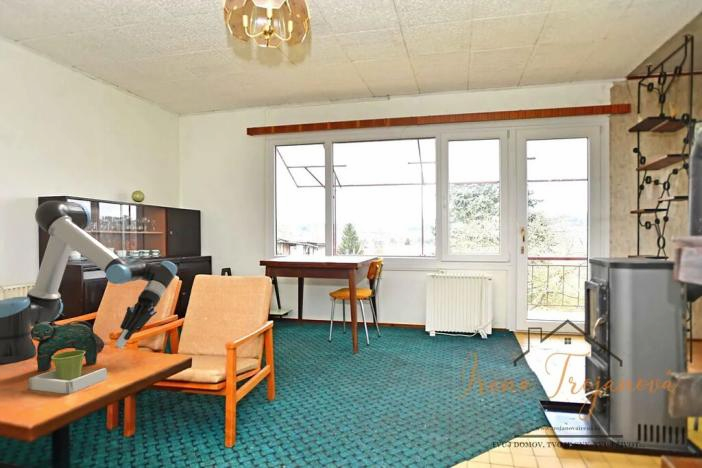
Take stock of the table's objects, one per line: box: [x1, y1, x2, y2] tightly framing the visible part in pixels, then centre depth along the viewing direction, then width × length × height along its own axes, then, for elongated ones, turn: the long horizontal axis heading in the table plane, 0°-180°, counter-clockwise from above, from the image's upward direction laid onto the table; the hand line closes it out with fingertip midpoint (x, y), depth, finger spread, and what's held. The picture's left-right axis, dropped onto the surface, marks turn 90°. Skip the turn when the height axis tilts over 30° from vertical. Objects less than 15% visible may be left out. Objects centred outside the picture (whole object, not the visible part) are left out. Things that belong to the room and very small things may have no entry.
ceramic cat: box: [30, 312, 99, 373], centre depth 153 cm, size 20×6×20 cm, turn 112°
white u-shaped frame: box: [28, 367, 108, 395], centre depth 134 cm, size 16×13×4 cm
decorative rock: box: [74, 332, 105, 353], centre depth 172 cm, size 12×6×11 cm, turn 106°
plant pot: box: [51, 350, 85, 381], centre depth 138 cm, size 9×9×9 cm
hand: (118, 346), depth 153 cm, fingers closed
